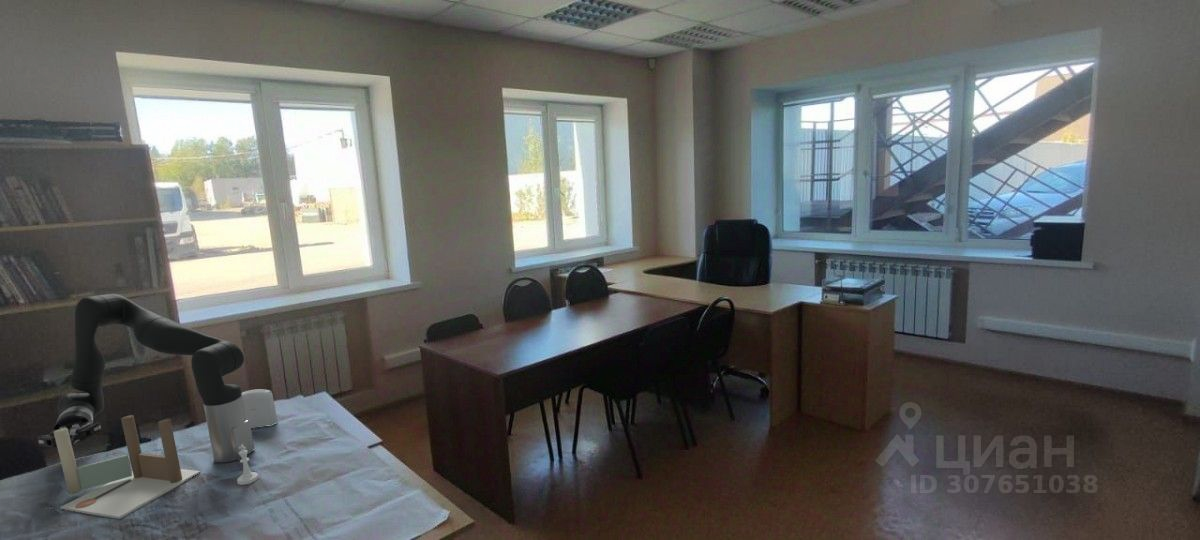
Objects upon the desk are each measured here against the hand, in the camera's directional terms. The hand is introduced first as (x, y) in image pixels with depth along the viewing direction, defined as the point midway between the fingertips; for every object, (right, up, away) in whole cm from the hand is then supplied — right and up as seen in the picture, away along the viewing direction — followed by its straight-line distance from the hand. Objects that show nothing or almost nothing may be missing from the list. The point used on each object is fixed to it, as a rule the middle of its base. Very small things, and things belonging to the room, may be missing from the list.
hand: (65, 445), depth 144 cm
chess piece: (+44, -11, +5) cm, 45 cm away
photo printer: (+27, -6, +37) cm, 47 cm away
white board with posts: (+15, -13, +3) cm, 20 cm away
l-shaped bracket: (+5, -12, +4) cm, 13 cm away
